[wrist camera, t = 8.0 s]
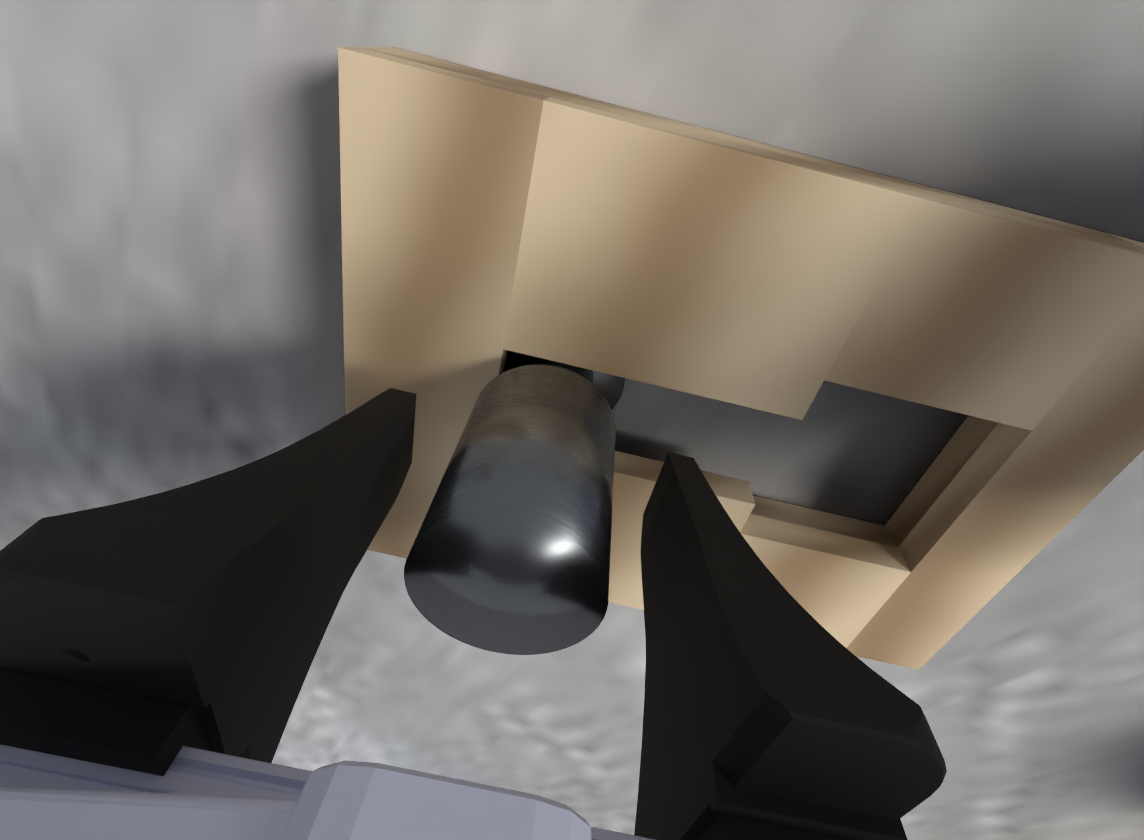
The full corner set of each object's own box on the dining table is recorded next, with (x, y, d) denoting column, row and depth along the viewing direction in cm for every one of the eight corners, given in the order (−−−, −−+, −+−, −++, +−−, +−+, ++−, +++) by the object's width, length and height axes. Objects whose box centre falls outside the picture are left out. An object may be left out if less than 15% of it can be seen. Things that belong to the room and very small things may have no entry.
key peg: (637, 307, 16) (642, 532, 9) (612, 420, 18) (598, 675, 11) (501, 283, 16) (388, 488, 9) (492, 399, 18) (396, 641, 11)
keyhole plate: (1181, 252, 14) (1300, 296, 11) (886, 598, 22) (918, 669, 19) (393, 47, 13) (338, 47, 11) (381, 486, 21) (347, 545, 18)
